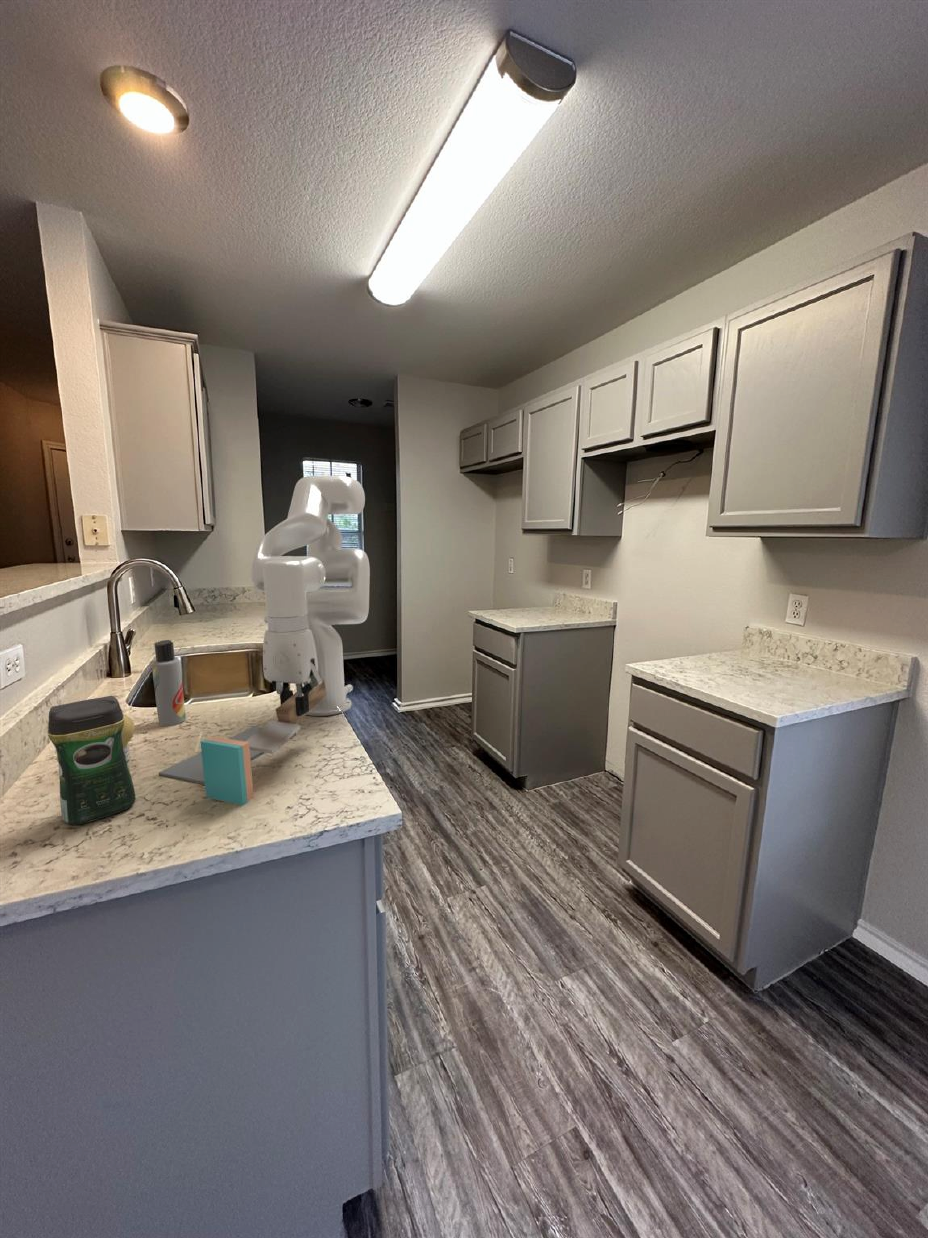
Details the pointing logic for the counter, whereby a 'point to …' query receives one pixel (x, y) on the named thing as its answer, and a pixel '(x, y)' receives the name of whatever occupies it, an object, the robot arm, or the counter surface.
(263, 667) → the robot arm
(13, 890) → the counter surface
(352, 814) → the counter surface
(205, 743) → the kitchen sponge
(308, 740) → the counter surface
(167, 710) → the lotion bottle
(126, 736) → the light bulb
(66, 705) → the coffee jar
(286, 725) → the turner
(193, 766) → the mat
